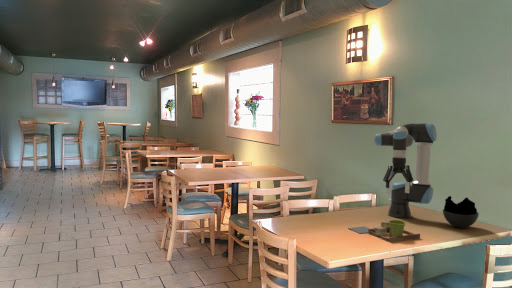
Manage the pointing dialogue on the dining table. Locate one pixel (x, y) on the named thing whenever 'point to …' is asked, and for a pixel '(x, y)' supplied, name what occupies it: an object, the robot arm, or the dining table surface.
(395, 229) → the plant pot
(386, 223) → the offcut top
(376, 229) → the offcut left
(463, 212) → the coal bowl
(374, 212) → the dining table surface
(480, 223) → the dining table surface
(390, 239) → the dark brown tray
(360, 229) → the mat
